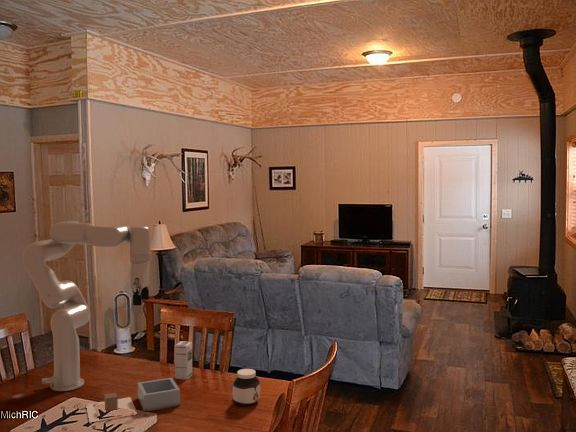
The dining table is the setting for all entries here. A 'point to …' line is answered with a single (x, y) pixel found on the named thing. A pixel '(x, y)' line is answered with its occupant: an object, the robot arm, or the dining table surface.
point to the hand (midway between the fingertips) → (141, 302)
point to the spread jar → (246, 387)
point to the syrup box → (183, 360)
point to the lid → (109, 405)
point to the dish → (158, 394)
